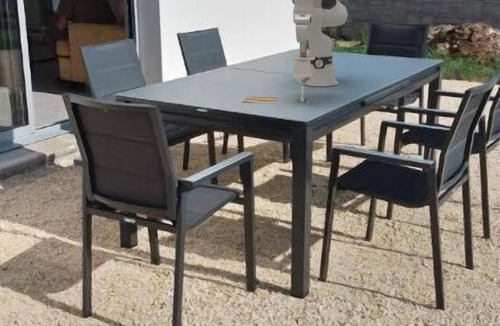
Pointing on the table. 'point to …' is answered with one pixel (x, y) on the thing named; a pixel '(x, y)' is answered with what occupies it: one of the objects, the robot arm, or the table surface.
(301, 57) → the lid
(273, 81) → the table surface
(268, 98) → the mat
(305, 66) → the wineglass
